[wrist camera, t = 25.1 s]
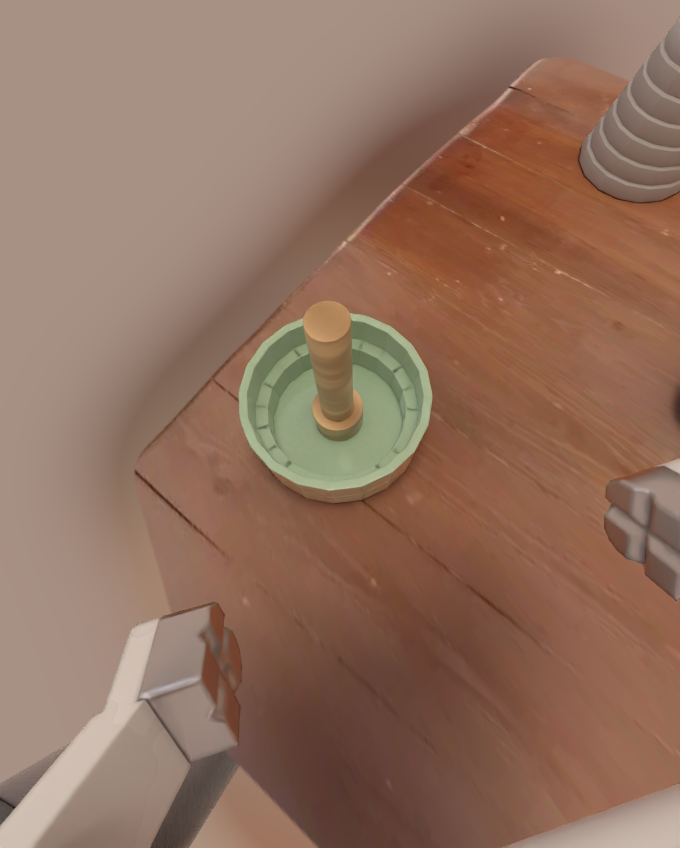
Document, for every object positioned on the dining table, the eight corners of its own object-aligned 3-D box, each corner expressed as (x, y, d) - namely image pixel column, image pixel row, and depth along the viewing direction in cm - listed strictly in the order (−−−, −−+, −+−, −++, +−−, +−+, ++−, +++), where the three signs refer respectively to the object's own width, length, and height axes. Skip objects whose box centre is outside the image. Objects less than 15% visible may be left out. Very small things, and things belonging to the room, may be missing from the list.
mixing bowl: (332, 540, 36) (327, 534, 30) (225, 418, 40) (200, 390, 34) (454, 424, 39) (472, 396, 33) (342, 323, 43) (340, 281, 37)
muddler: (337, 450, 38) (323, 369, 23) (305, 418, 39) (272, 319, 24) (372, 419, 39) (381, 321, 24) (340, 388, 40) (329, 276, 25)
